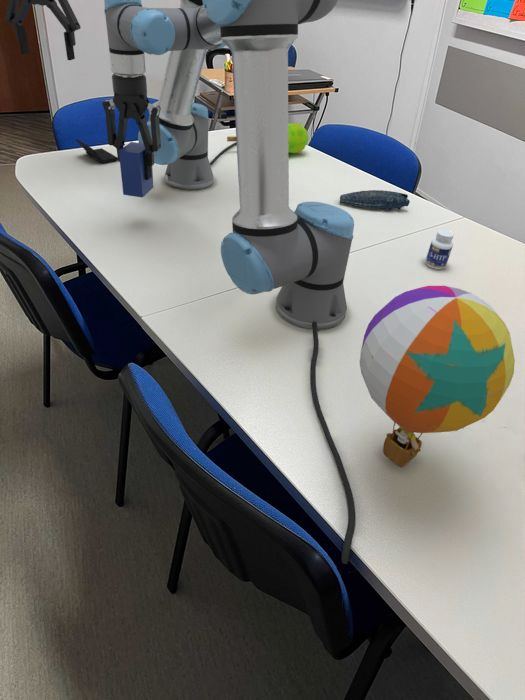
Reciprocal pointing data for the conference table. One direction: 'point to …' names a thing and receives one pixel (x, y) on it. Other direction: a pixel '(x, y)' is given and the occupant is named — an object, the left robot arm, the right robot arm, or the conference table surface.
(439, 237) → the pill bottle
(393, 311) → the toy
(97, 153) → the black handled piece
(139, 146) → the brick
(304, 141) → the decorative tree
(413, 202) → the conference table surface
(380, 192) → the fish model
